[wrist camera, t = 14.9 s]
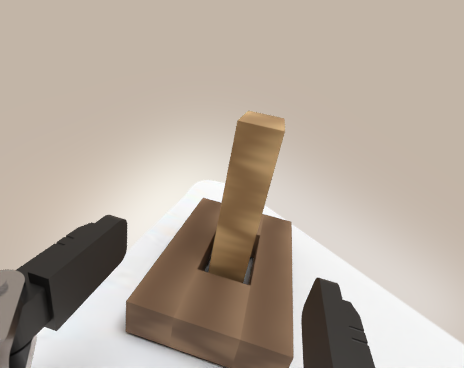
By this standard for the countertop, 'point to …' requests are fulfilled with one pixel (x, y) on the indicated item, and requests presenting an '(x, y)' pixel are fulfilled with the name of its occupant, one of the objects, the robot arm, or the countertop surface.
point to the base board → (219, 297)
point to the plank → (245, 192)
